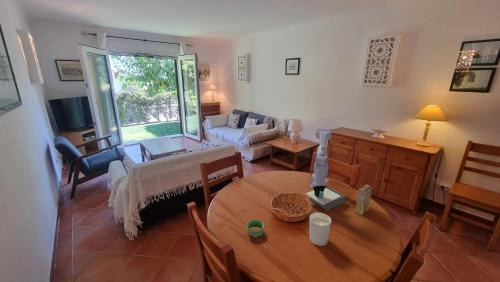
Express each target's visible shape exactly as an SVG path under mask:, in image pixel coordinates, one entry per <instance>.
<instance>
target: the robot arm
mask: <svg viewBox="0 0 500 282" xmlns="http://www.w3.org/2000/svg"><path fill="white" fill-rule="evenodd" d="M332 134H333V129H332V128H331V127H316V128H315V137H316V139H317V140H318V141H319V146H317V148H316V149H317V150H316V156H315V161H314V165H313V172H312V175H311V178H310V184H309V188H310V189H313V190H314V192H315V196H317V197H319V193H320V191H322V192H324V190H325V188H326V187H328V184H327V183H330V179H329V178H327V176H328V175H329V165H328V147H327V141H328V140H330V139H331V138H332Z"/></svg>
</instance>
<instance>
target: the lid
mask: <svg viewBox="0 0 500 282" xmlns="http://www.w3.org/2000/svg"><path fill="white" fill-rule="evenodd" d="M305 195H306V196H307V197H309V199H310V198H312V199H314V200H315V201H317V202H319V203H320V204H322V205H325V204H327V203H329V202H331V201H334V200H336V199H338V198H340V197H341V196H340V195H338V194H337V193H335V192H333V191H331V190H329V189H327V188H325V190H324V192H322V191H320V193H319V197H317V196H315V192H314V189H313V190H311V191H308V192H306V193H305Z"/></svg>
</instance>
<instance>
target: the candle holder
mask: <svg viewBox="0 0 500 282" xmlns="http://www.w3.org/2000/svg"><path fill="white" fill-rule="evenodd" d="M331 224H332V218H331V216H329V215H328V214H325V213H323V212H313V213H311V214H310V215H309V241H310V242H311V243H312V244H314V245H316V246H320V247H323V246H326V245H327V244H328V242H329V241H328V240H329V237H330V230H331V226H332V225H331Z"/></svg>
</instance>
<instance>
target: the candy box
mask: <svg viewBox="0 0 500 282" xmlns="http://www.w3.org/2000/svg"><path fill="white" fill-rule="evenodd" d="M372 192H373V186H372V185H370V184H369V185H368V184H367V183H365V184H364V185H362V186H361V187H359V188H358V191H357V198H356V199H357V200H356V204H355V213H357V214H358V215H360V216H363V215H364V214H365V213H366V212H368V211H369V209H370V203H371V198H372Z"/></svg>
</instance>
